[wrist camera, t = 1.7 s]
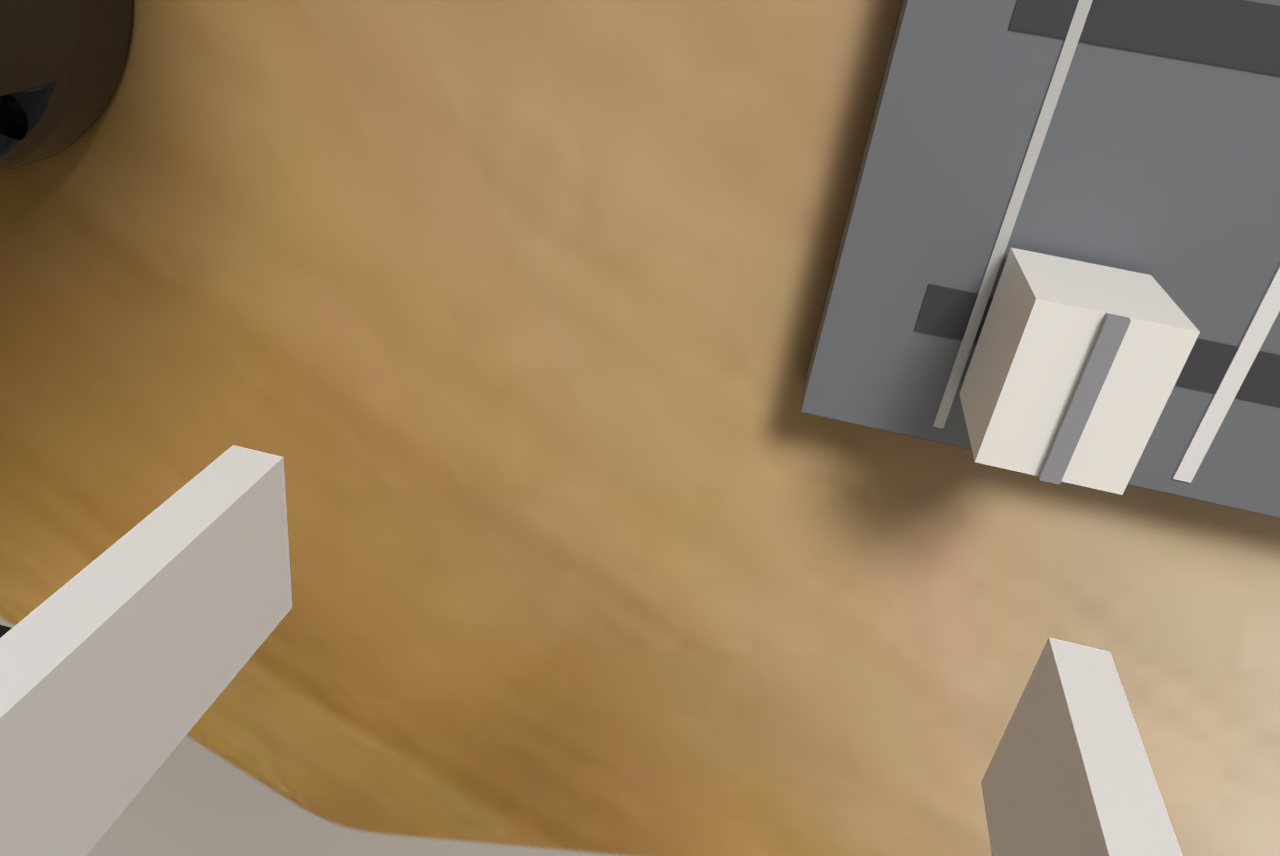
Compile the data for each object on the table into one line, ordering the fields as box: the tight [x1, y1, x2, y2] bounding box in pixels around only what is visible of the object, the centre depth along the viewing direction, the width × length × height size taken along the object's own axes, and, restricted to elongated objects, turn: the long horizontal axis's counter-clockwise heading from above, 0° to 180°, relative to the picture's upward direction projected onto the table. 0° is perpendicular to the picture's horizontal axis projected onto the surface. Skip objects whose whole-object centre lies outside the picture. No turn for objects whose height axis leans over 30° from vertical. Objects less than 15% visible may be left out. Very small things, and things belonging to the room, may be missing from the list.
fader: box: [959, 248, 1200, 495], centre depth 24 cm, size 4×4×4 cm
